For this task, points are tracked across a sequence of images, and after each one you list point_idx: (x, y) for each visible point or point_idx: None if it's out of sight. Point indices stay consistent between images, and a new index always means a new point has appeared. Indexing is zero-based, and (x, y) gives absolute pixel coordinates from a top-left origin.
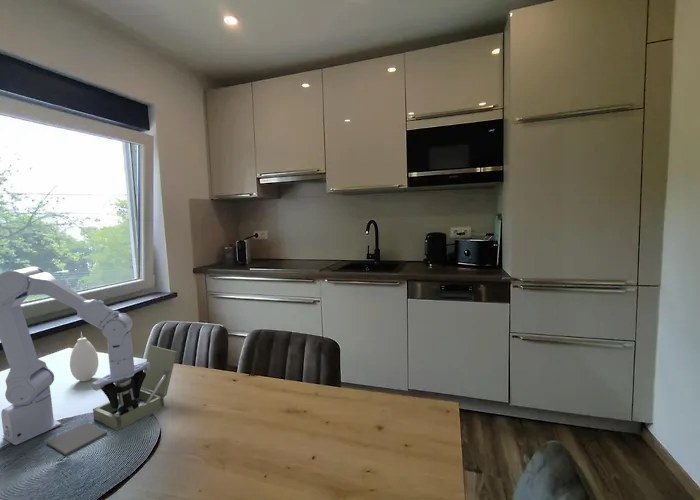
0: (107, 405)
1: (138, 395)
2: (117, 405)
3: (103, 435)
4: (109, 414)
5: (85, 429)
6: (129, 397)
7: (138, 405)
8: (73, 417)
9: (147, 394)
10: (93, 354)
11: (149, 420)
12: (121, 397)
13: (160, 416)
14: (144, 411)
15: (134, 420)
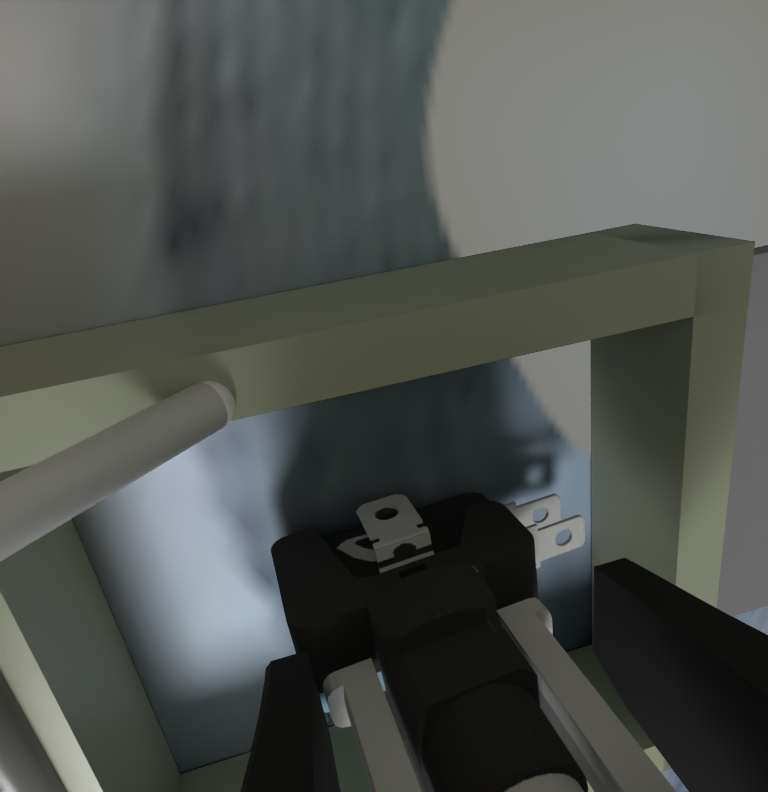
0: None
1: (279, 696)
2: (641, 583)
3: (756, 249)
4: (702, 496)
5: None
6: (449, 689)
7: (279, 568)
8: (677, 784)
9: (91, 738)
10: None
11: (280, 79)
12: (595, 724)
13: (95, 27)
14: (285, 307)
15: (433, 265)
